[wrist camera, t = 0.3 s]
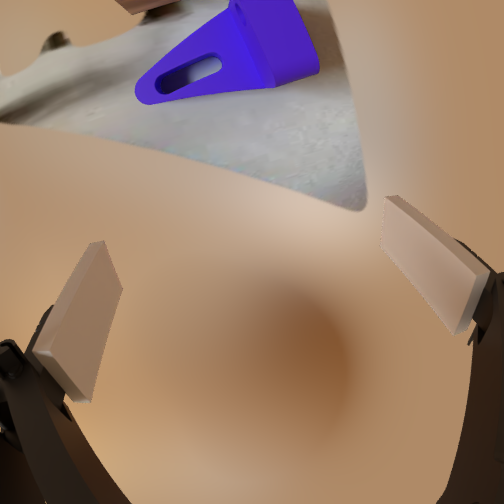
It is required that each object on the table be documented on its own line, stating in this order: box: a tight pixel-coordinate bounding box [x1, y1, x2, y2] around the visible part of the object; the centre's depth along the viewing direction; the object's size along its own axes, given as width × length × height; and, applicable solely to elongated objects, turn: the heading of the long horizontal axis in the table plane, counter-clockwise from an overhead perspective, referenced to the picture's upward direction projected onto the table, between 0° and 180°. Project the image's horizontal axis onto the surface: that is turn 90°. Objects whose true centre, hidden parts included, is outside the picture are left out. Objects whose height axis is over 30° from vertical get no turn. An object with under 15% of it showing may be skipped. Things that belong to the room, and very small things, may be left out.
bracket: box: [135, 0, 320, 105], centre depth 27 cm, size 18×11×12 cm, turn 112°
